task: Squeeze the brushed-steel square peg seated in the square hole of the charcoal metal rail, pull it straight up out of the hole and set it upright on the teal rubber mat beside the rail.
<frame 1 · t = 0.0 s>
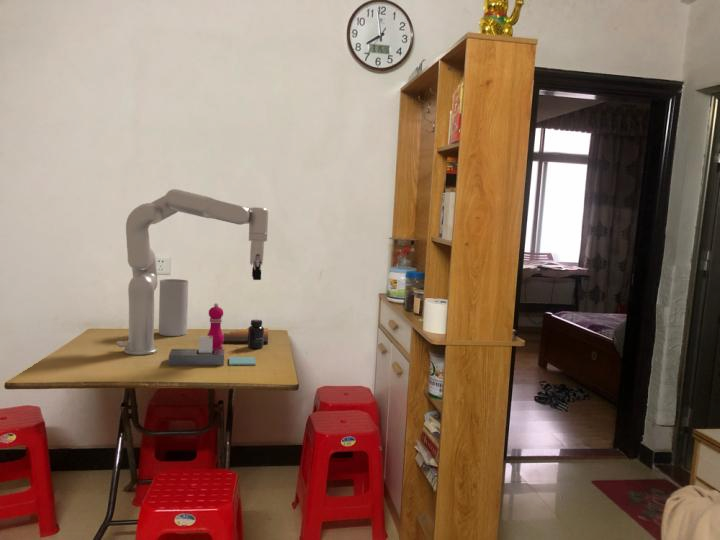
hand: (256, 278, 241), 31 cm above the table, tool pointing down, fingers open, 9 cm apart
steel peg: (205, 362, 224), resting in rail
cylinder vase: (172, 334, 271), on the table
rail: (197, 362, 223), on the table
supplement bottle: (255, 348, 252), on the table
pan flute: (240, 339, 270), on the table
teal mat: (242, 362, 227), on the table
pepper mill: (214, 350, 244), on the table
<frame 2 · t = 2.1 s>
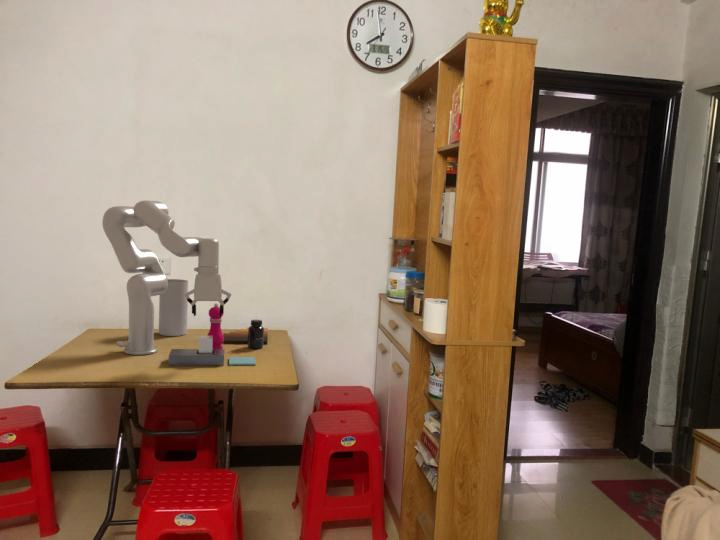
hand: (207, 315, 222), 18 cm above the table, tool pointing down, fingers open, 9 cm apart
nothing on the table moved.
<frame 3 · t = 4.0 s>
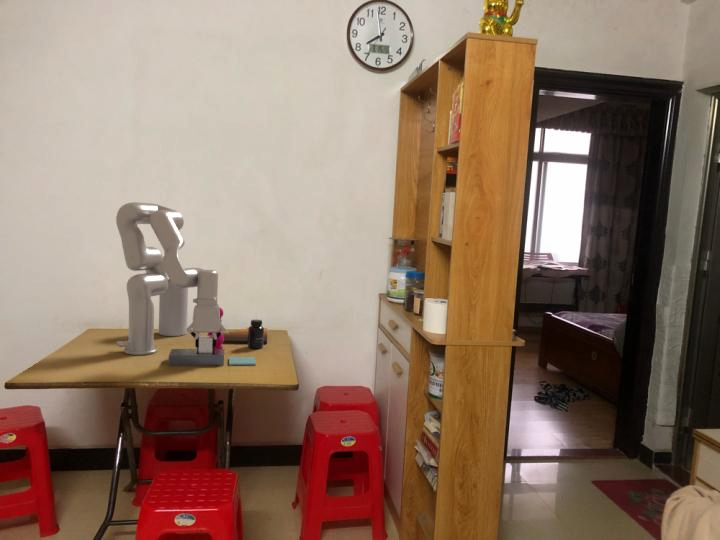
hand: (205, 348, 223), 5 cm above the table, tool pointing down, fingers closed on steel peg, 5 cm apart
steel peg: (205, 362, 224), resting in rail, touching gripper
everything else where it was.
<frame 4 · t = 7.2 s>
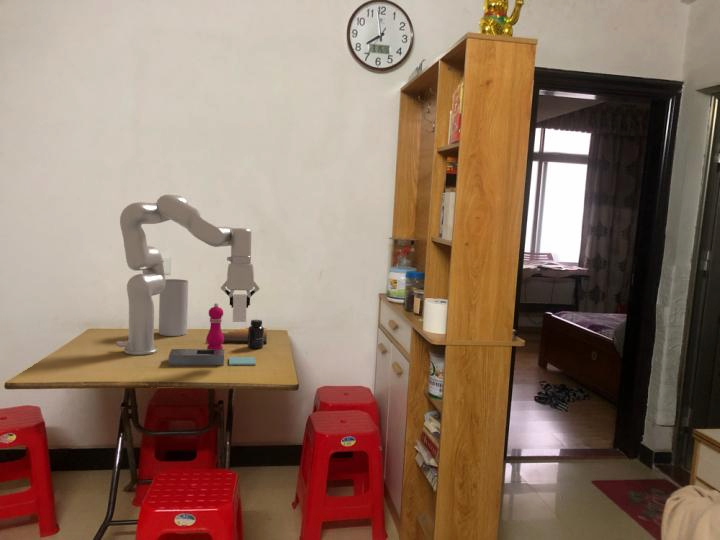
hand: (239, 306, 224), 22 cm above the table, tool pointing down, fingers closed on steel peg, 5 cm apart
steel peg: (239, 320, 225), point 17 cm above the table, touching gripper
everything else where it was.
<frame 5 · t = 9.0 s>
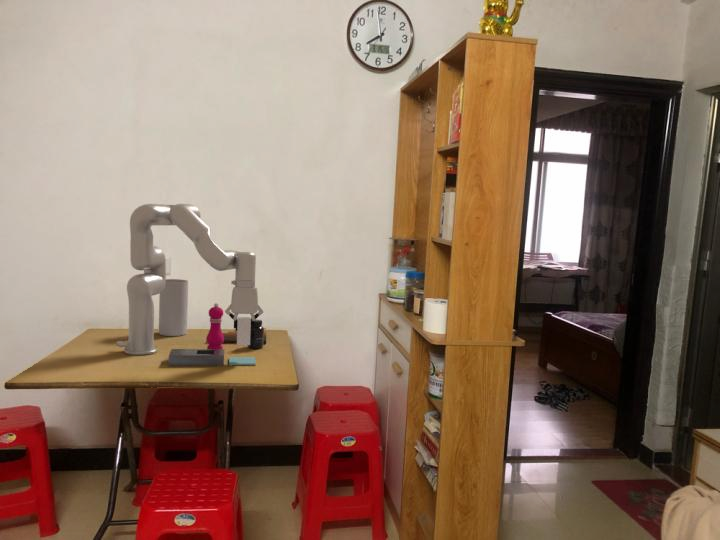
hand: (243, 329, 226), 13 cm above the table, tool pointing down, fingers closed on steel peg, 5 cm apart
steel peg: (243, 343, 226), point 7 cm above the table, touching gripper
when the fingers open (8 cm above the table, at t = 10.4 s): steel peg drops 1 cm, resting on teal mat.
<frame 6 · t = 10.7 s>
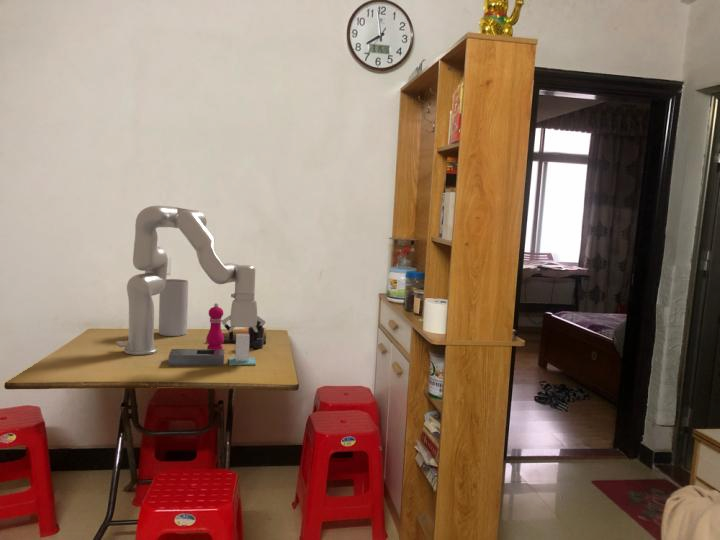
hand: (242, 341, 226), 8 cm above the table, tool pointing down, fingers open, 8 cm apart
steel peg: (241, 360, 227), point 1 cm above the table, touching teal mat
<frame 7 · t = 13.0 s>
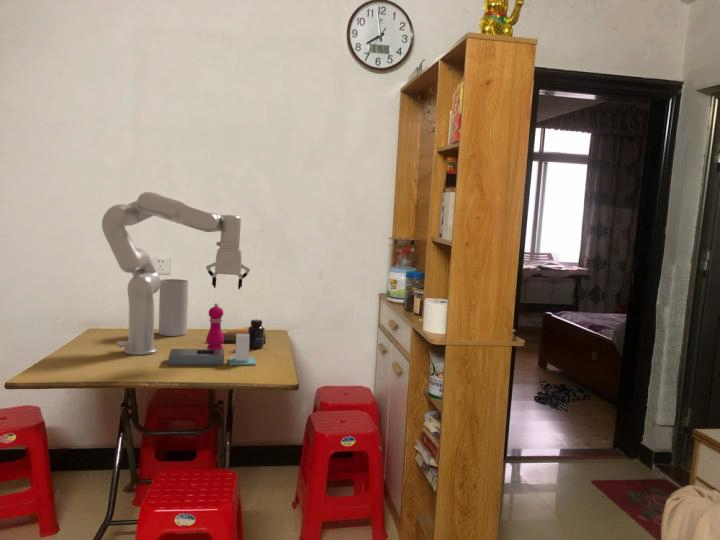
hand: (226, 288, 234), 28 cm above the table, tool pointing down, fingers open, 9 cm apart
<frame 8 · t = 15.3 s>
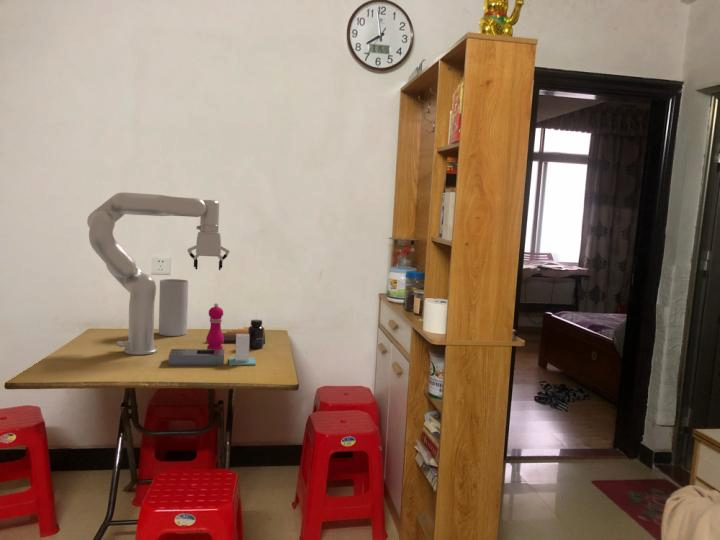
hand: (208, 269, 247), 33 cm above the table, tool pointing down, fingers open, 9 cm apart
at the end: steel peg inside the target area (0.2 cm from its centre), point 0.8 cm above the table; steel peg tilted 0°; the gripper is holding nothing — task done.
